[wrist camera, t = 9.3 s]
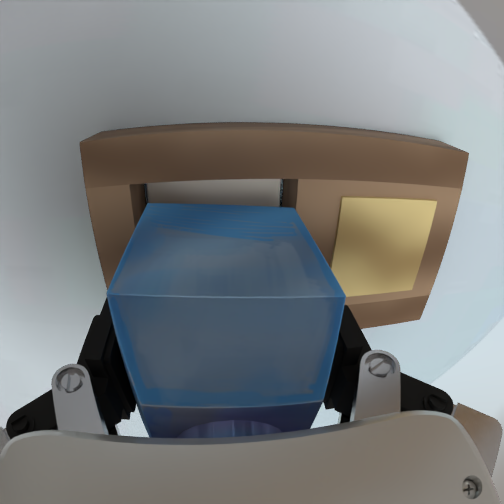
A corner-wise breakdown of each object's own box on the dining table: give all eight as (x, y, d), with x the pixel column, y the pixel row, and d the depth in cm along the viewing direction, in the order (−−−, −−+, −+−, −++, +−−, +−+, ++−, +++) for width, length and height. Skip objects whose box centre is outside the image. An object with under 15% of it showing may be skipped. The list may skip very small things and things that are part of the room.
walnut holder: (100, 131, 14) (77, 143, 12) (439, 140, 17) (471, 154, 14) (131, 312, 20) (123, 345, 18) (401, 294, 23) (420, 321, 20)
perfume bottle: (157, 317, 16) (135, 559, 5) (147, 203, 13) (43, 525, 2) (275, 318, 17) (334, 549, 6) (294, 207, 14) (443, 497, 3)
